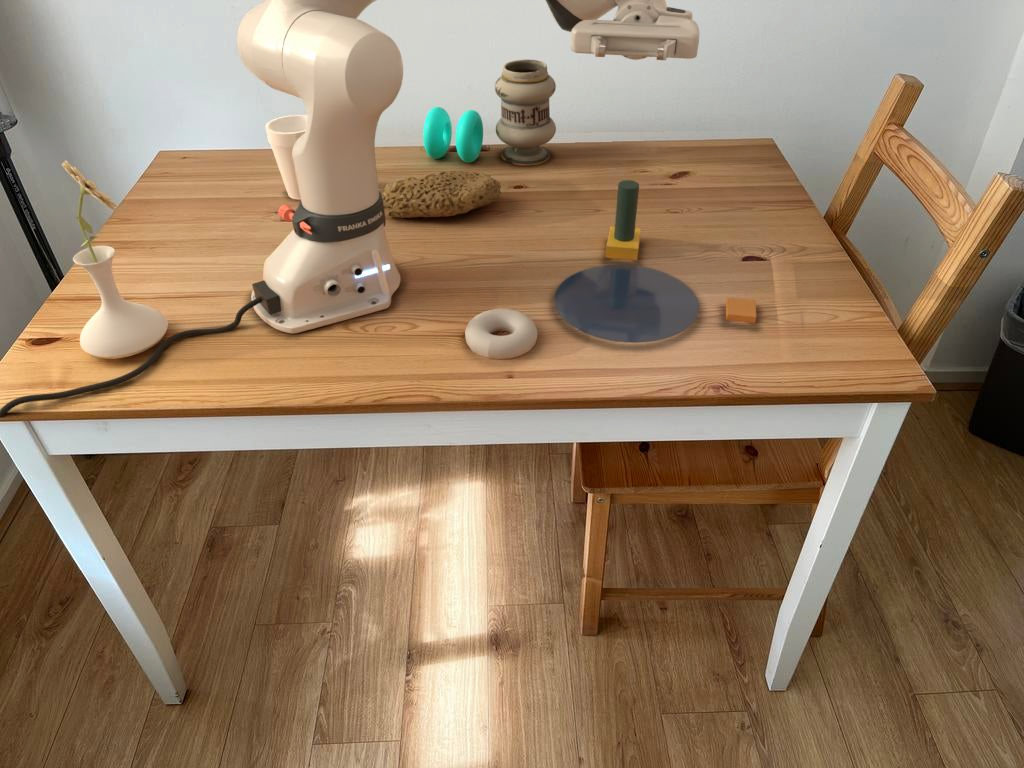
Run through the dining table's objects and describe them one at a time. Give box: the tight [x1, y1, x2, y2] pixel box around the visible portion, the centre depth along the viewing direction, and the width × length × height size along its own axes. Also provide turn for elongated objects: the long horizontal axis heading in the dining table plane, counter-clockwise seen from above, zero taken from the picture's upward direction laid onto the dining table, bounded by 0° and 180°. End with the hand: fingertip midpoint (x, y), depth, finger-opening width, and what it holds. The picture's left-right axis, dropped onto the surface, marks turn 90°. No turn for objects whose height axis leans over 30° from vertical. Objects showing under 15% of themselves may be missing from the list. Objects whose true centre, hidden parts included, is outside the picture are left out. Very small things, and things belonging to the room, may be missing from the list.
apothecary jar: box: [494, 58, 557, 167], centre depth 152 cm, size 12×12×18 cm
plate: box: [553, 264, 700, 344], centre depth 113 cm, size 21×21×1 cm
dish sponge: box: [605, 179, 642, 261], centre depth 122 cm, size 7×5×12 cm
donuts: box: [422, 106, 484, 163], centre depth 154 cm, size 10×10×10 cm
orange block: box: [725, 297, 757, 324], centre depth 110 cm, size 4×4×2 cm
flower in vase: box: [61, 160, 169, 360], centre depth 100 cm, size 13×11×25 cm
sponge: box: [381, 170, 502, 219], centre depth 136 cm, size 13×8×20 cm
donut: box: [464, 308, 539, 360], centre depth 105 cm, size 10×4×10 cm
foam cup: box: [264, 114, 307, 201], centre depth 141 cm, size 10×9×13 cm
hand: (630, 53), depth 118 cm, fingers open, 8 cm apart
